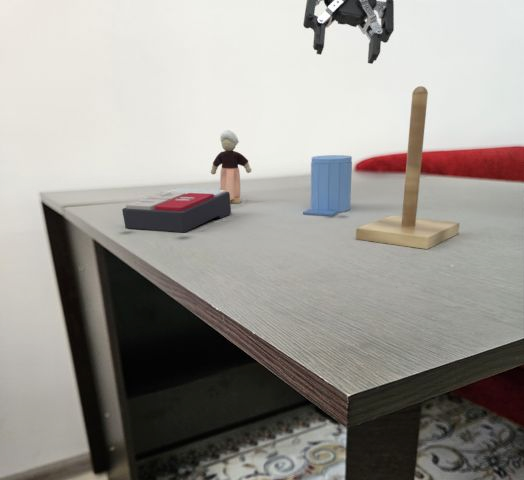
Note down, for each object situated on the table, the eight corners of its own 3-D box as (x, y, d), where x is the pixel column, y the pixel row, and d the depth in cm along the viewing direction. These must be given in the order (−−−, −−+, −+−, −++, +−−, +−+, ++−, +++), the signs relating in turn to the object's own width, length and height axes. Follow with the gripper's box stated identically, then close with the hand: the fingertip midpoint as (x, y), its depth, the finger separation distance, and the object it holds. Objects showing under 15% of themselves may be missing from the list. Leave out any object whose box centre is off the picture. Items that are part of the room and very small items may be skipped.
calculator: (119, 203, 79) (174, 185, 91) (124, 232, 81) (177, 210, 93) (181, 207, 74) (230, 186, 86) (185, 236, 76) (232, 213, 88)
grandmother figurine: (211, 204, 98) (206, 131, 92) (213, 201, 101) (208, 130, 96) (252, 203, 98) (249, 130, 92) (252, 200, 101) (250, 129, 96)
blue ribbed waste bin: (319, 205, 94) (320, 154, 90) (354, 207, 91) (357, 155, 88) (298, 214, 87) (298, 159, 83) (336, 216, 84) (338, 160, 80)
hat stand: (390, 225, 76) (400, 88, 69) (458, 234, 70) (477, 84, 63) (355, 239, 69) (362, 88, 62) (427, 249, 63) (444, 83, 56)
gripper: (315, -65, 80) (307, 31, 78) (403, -47, 82) (398, 47, 80) (305, -25, 88) (297, 63, 86) (386, -10, 89) (380, 78, 87)
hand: (346, 55), depth 83 cm, fingers open, 8 cm apart
